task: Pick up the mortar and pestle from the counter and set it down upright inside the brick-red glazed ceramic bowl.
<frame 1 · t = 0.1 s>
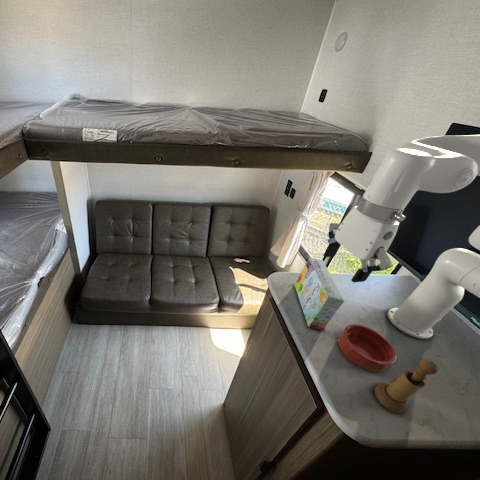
hand: (342, 267, 65), 31 cm above the worktop, tool pointing down, fingers open, 9 cm apart
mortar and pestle: (388, 399, 69), on the worktop
snack box: (307, 306, 95), on the worktop
bowl: (360, 351, 80), on the worktop
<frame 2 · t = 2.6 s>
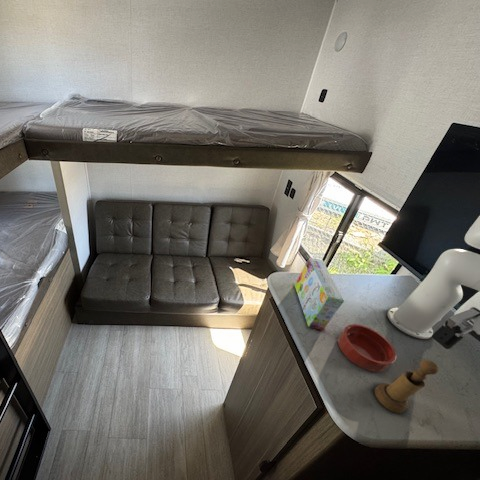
hand: (457, 339, 54), 27 cm above the worktop, tool pointing down, fingers open, 9 cm apart
nothing on the worktop moved.
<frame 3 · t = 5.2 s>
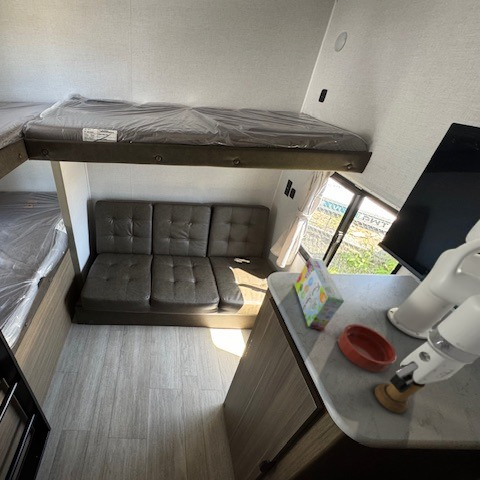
hand: (403, 384, 65), 7 cm above the worktop, tool pointing down, fingers closed on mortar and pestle, 3 cm apart
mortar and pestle: (388, 399, 69), on the worktop, touching gripper
everything else where it was.
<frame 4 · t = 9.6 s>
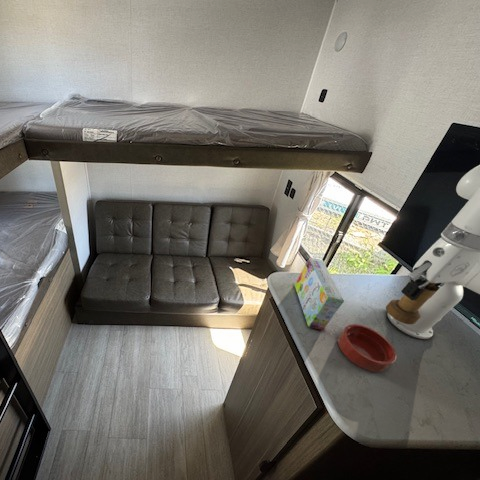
hand: (415, 294, 64), 27 cm above the worktop, tool pointing down, fingers closed on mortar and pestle, 3 cm apart
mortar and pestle: (399, 314, 68), point 19 cm above the worktop, touching gripper
everything else where it was.
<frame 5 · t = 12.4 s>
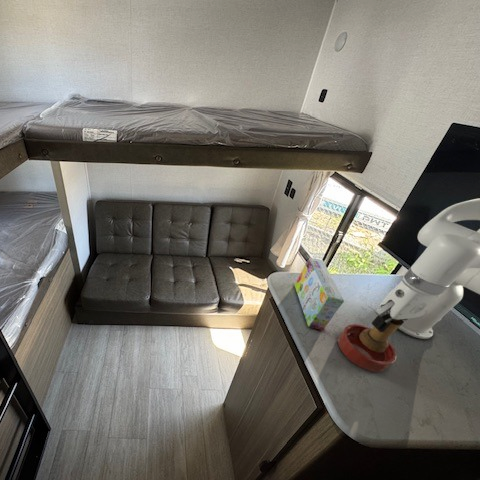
hand: (383, 326, 73), 13 cm above the worktop, tool pointing down, fingers closed on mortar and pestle, 3 cm apart
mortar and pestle: (371, 342, 77), point 6 cm above the worktop, touching gripper
everything else where it was.
when the fingers open (8 cm above the worktop, at t = 14.0 s): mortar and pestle stays where it is, resting on bowl.
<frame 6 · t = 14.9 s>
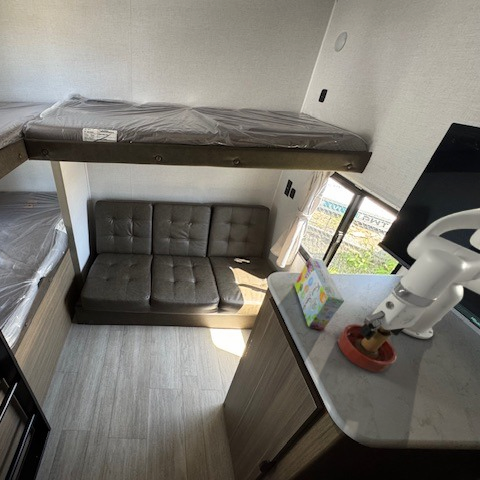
hand: (377, 333, 75), 10 cm above the worktop, tool pointing down, fingers open, 9 cm apart
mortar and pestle: (362, 352, 80), resting on bowl
everything else where it was.
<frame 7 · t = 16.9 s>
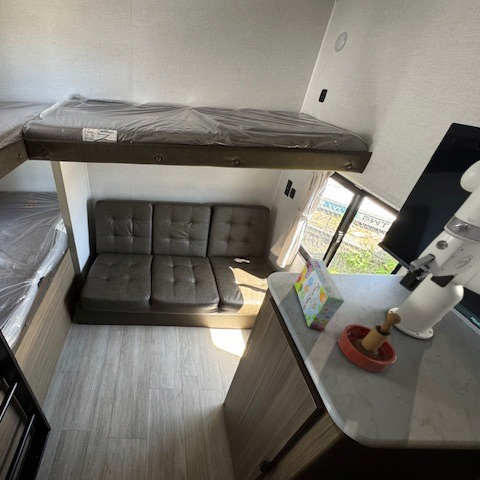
hand: (421, 285, 64), 29 cm above the worktop, tool pointing down, fingers open, 9 cm apart
nothing on the worktop moved.
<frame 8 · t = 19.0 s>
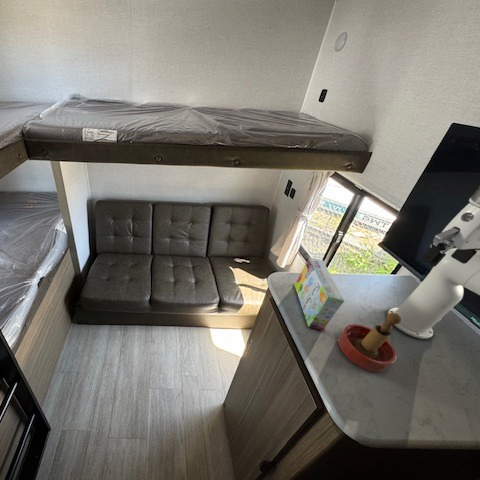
hand: (442, 261, 64), 34 cm above the worktop, tool pointing down, fingers open, 9 cm apart
nothing on the worktop moved.
at the end: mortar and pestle 0.4 cm off-centre in the bowl, point 0.4 cm above the bowl's base; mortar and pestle tilted 0°; the gripper is holding nothing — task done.
